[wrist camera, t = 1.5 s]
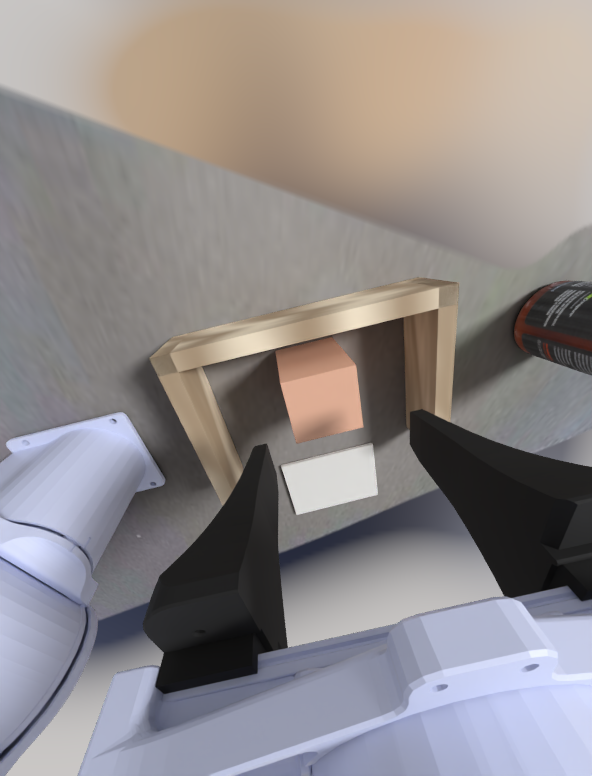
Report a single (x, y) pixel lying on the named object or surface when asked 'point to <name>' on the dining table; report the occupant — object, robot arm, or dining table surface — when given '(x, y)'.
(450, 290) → the wooden u-shaped frame
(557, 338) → the supplement bottle
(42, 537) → the robot arm
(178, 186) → the dining table surface
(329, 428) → the block
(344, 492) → the pad
